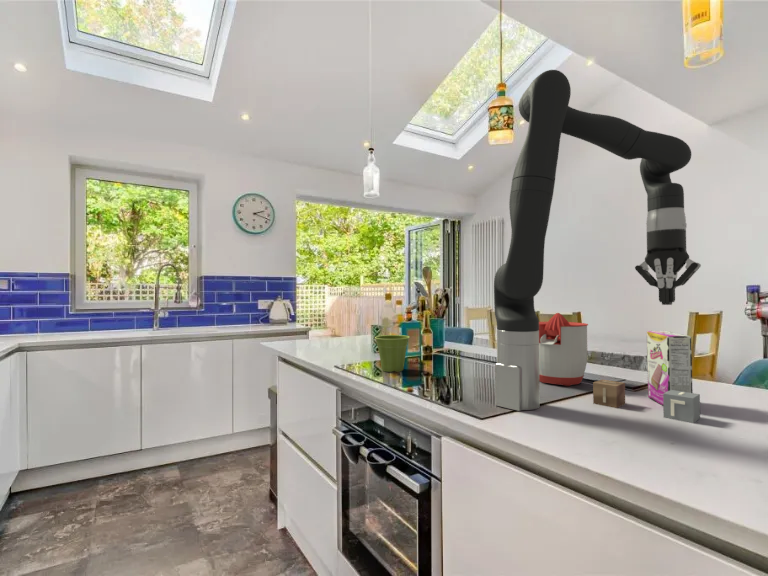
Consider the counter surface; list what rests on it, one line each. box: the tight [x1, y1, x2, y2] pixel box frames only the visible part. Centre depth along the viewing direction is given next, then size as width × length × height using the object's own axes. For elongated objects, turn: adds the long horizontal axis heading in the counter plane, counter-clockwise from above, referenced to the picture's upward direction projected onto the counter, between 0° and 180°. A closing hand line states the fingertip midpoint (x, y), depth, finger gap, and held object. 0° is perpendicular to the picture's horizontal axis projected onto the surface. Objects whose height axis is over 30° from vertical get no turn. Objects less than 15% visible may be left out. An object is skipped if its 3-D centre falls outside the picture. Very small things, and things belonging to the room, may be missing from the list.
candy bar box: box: [646, 330, 694, 406], centre depth 94 cm, size 11×5×16 cm, turn 168°
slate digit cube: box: [662, 390, 701, 424], centre depth 84 cm, size 5×5×5 cm
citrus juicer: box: [539, 312, 589, 387], centre depth 118 cm, size 16×17×20 cm
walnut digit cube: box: [592, 378, 626, 409], centre depth 94 cm, size 5×5×5 cm
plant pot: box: [374, 334, 411, 373], centre depth 137 cm, size 12×12×11 cm
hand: (667, 304), depth 94 cm, fingers closed
